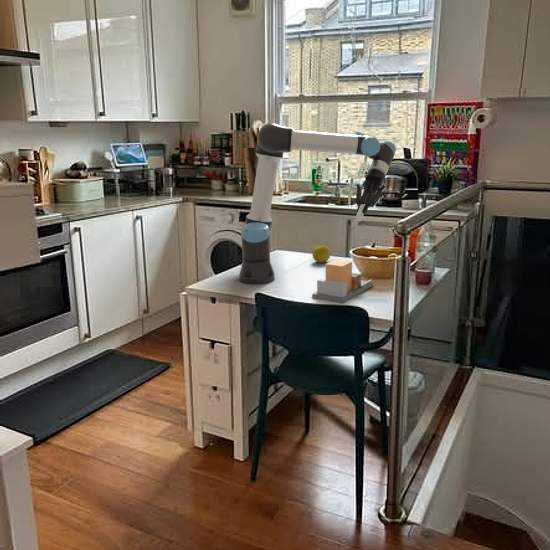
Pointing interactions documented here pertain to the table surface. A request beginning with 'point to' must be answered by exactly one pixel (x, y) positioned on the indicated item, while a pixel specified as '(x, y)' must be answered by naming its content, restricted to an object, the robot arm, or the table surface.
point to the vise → (338, 290)
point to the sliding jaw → (356, 280)
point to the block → (340, 272)
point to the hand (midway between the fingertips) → (358, 219)
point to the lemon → (321, 254)
